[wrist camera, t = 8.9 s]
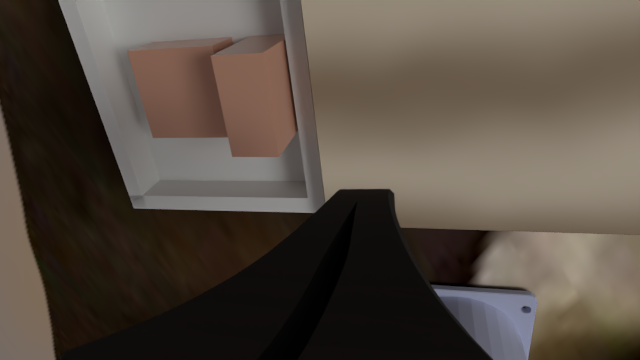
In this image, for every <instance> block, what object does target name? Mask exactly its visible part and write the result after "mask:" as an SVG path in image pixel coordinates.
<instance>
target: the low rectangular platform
mask: <svg viewBox="0 0 640 360" xmlns="http://www.w3.org/2000/svg"><path fill="white" fill-rule="evenodd" d="M301 5H302V13H303V22H304V30H305V38H306V46H307V55H308V63H309V71H310V80H311V88H312V96H313V104H314V113H315V121H316V129H317V137H318V146H319V154H320V162H321V171H322V179H323V187H324V195H325V203H326V202H327V201H328V200H329V199H330V198H331V197H332V196H333V195H334V194H335V193H336V192H337V191H338V190H339V189H390V190H391V191H392V192H393V193H394V197H395V212H396V216H397V219H398V222H399V225H400V227H404V228H436V229H467V230H499V231H530V232H561V233H593V234H624V235H640V0H301Z"/></svg>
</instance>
